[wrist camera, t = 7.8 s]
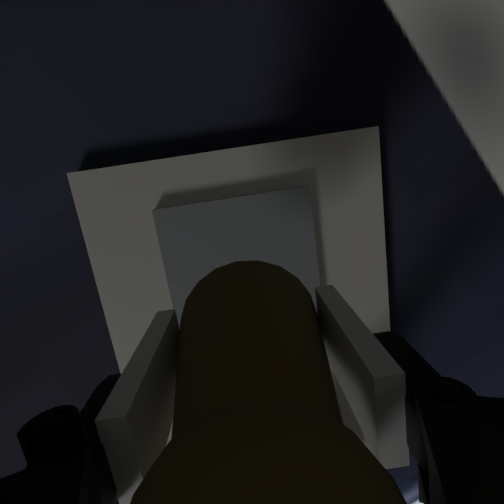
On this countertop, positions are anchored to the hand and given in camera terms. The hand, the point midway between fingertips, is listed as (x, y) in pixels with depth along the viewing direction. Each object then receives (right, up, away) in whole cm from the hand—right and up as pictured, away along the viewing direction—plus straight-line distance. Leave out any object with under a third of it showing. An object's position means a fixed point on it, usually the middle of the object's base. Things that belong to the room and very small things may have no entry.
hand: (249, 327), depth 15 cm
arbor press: (0, -3, +12) cm, 12 cm away
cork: (0, 0, +1) cm, 1 cm away
